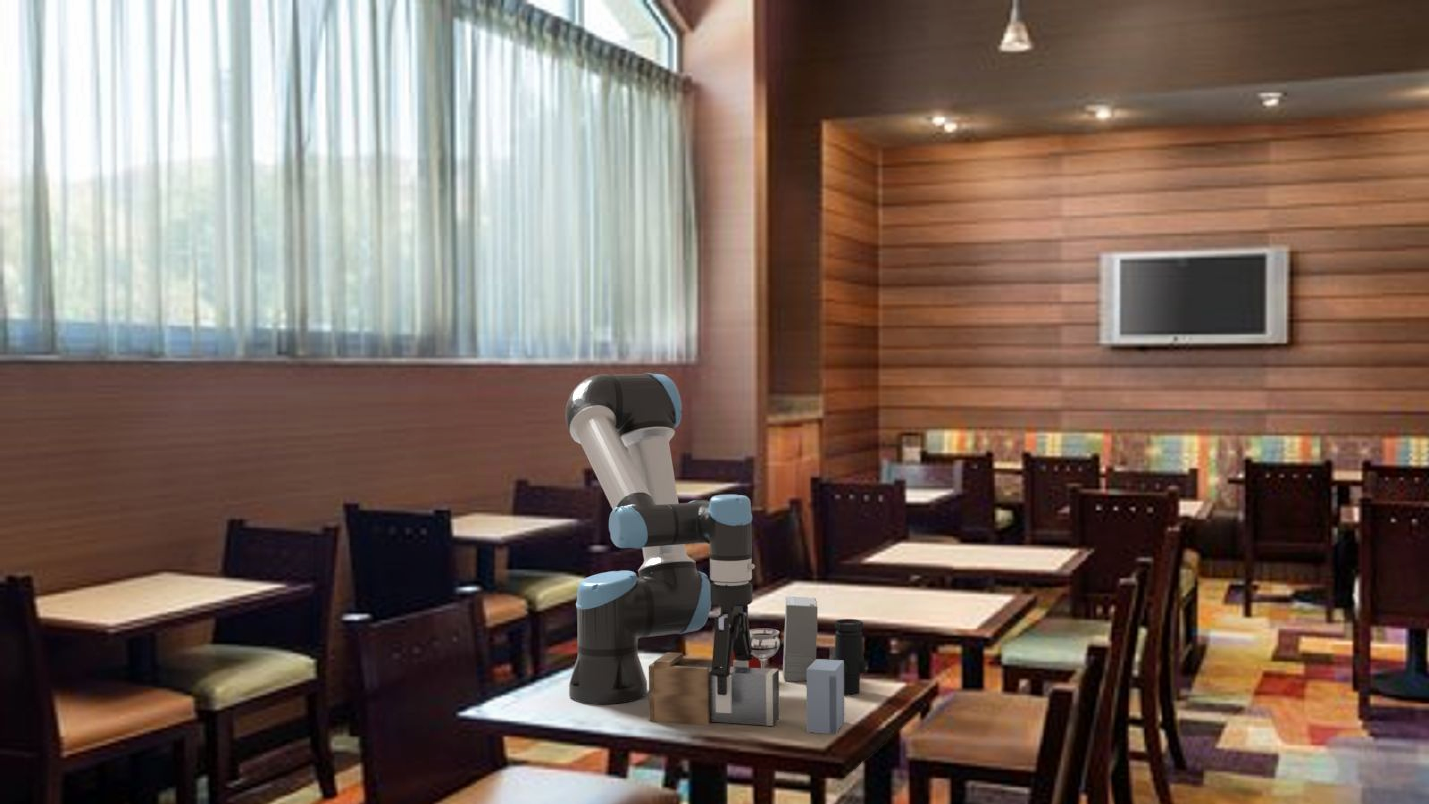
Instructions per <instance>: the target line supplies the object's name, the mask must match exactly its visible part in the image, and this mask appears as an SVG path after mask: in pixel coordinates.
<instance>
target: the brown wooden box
mask: <svg viewBox="0 0 1429 804" xmlns="http://www.w3.org/2000/svg"><path fill="white" fill-rule="evenodd" d="M675 663H677V664H694V665H712V658H703V657H702V658H700V657H684V653H683V652H671V651H670V652H669V651H668V652H666V653H664V654H663V655H662V656H660V657H658V658H656V660H654V661H653V662H652V663H651V664H649V665H648V700H649V701H648V707H649V708H648V709H649V710H648V715H649V716H648V717H649V718H648V719H649V720H648V721H649V722H660V723H673V724H688V725H689V724H691V725H703V726H704V725H705V726H708V725H710V723H711V721H710V715H709V668H704V667H687V666H672V665H673V664H675Z"/></svg>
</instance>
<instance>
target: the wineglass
mask: <svg viewBox="0 0 1429 804" xmlns="http://www.w3.org/2000/svg"><path fill="white" fill-rule="evenodd" d="M749 631H750V640H751V650H752V653H751V654H753V656H754V657H756V658H758V659H759V661H761V668H765V669H766V661H767V660H768V659H769V658H772V657H773V656H774V655H776V653H777V652H778V651H779V648H780V645H781V639H780V637H779V635H780V631H779V630H777V629H773V628H753V629H749Z"/></svg>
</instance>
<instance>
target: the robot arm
mask: <svg viewBox="0 0 1429 804" xmlns="http://www.w3.org/2000/svg"><path fill="white" fill-rule="evenodd" d="M568 397H569V398H568V400H567V403H566V406H565V412H564V414H565V415H564V417H565V418H564V419H565V423H566V424H565V425H566V428H567V430H568V432H569V434H570V437H571V438H572V439H573V441H574V442H575V443H577V444H579V445H580V446H581V447H582V449H583V451H584V453H585V456H586V457H587V459H588V462H589V463H590V466H591V468H592V470H593V471H594V473H595V477H596V478H597V480H598V482H599V484H600V486H601V488H602V490H603V492H604V495H605V496H606V499H607V500H608V502H609V505H610V507H611V509H612V511H611V512H610V514H609V519H608V531H609V533H610V539H611V542H612V543H613V544H614V545H615V546H616V547H617V548H620V549H635V550H636V549H642V555H643V563H642V565H641V566H640V567H639V569H637V572H638V576H637V573H636V572H634V571H631V570H618V571H617V570H613V571H612V570H611V571H607V572H600V573H597V574H594V575H590V576H588V577H585V578H584V579H582V580H581V581H580V582H579V584H578V586H577V593H576V603H575V606H576V617H577V618H576V621H577V626H576V627H577V632H576V633H577V658H576V660H575V665H574V667H573V671H572V674H571V676H570V681H569V685H568V687H569V688H568V690H569V691H568V695H569V697H570V698H571V699H572V700H574V701H577V702H579V703H580V702H581V703H587V704H588V703H589V704H599V705H600V704H602V705H603V704H605V705H606V704H618V703H619V704H620V703H627V702H632V701H637V700H639V699H642V698H644V697H646V695H647V694H648V680H647V677H646V674H645V672H644V669H643V665H642V663H641V660H640V657H639V650H638V646H639V645H638V644H639V643H638V640H639V639H640V638H649V637H656V636H659V637H660V636H667V635H674V634H676V635H677V634H678V635H683V634H685V633H691V632H697V631H699V630H701V629H702V628H703V627H704V626H705V624H706V623H707V621H708V618H709V617H710V616H709V615H710V613H711V608H712V605H714V606H718V607H720V614H719V615H718V616H717V617H716V616H715V617H714V620H713V622H714V634H713V635H714V636H713V645H712V646H713V647H712V658H711V659H712V670H711V671H710V675H711V676H715V683H716V712H719V713H731V712H732V683H731V675H729V674H730V666H731V659H732V652H733V651H734V656H735V659H737V660H734V661H733V667H747V668H748V661H747V660H753V654H751V653H752V650H751V640H750V631H749V630H750V623H749V605H751V604H752V603H753V584H752V583H751V580H752V579H753V571H752V570H755V568H756V565H755V564H754V563H752V562H753V561H752V560H753V559H752V553H753V552H752V551H753V549H752V548H753V547H752V546H753V545H752V544H753V539H752V538H753V535H752V533H753V527H752V526H753V523H752V521H753V514H752V505H751V504H752V503H751V499H750V498H749V497H748V496H747V495H742V494H740V495H739V494H718V495H717V494H716V495H713V496H712V497H711V498H710V499H709V500H708V499H706V500H705V499H702V500H699V499H698V500H697V499H695V500H691V501H689V502H684V503H683V502H682V503H679V498H678V492H677V486H676V485H677V484H676V479H675V471H674V466H673V461H672V453H671V448H670V441H671V440H672V438H673V437H674V436H675V434H676V431H675V429H676V428H677V427H679V425H680V423H681V420H682V415H683V414H682V413H681V411H683V409H682V405H683V404H682V400H681V396H680V393H679V389H678V387H677V386H676V384H675V382H674V381H673V380H672V379H671V378H670V377H669V376H667V375H666V374H661V373H660V374H659V373H650V372H644V373H621V374H620V373H619V374H618V373H617V374H616V373H614V374H607V373H604V374H595V375H592V376H590V377H587V378H585V379H584V380H583V381H581V382H580V383H578V385H577V386H575V388H574V389H573V391H572V392H571V394H570V395H569V396H568ZM690 544H692V545H693V544H709V578H708V575H707V574H706V573H705V572H702V571H698V570H697V564H696V560H694V559H693V558H691V557H690V556H689V555H688V554H687V549H686V545H690ZM710 581H712V582H710ZM720 667H722V668H720Z"/></svg>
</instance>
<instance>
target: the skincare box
mask: <svg viewBox="0 0 1429 804" xmlns="http://www.w3.org/2000/svg"><path fill="white" fill-rule="evenodd" d="M817 603H818V601H817V598H816V597H808V596H785V608H784V609H785V610H784V611H785V616H784V619H785V620H784V638H783V658H782V659H783V662H782V663H783V664H782V677H783V680H784V681H785V682H787V681H789V682H792V681H793V682H800V681H799V680H807V678H806V669H807V668H808V667H809V666H810V665H811V664H812V663H813V662H814V661H815V660H816V659H817V641H818V640H817V639H818V604H817Z"/></svg>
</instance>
